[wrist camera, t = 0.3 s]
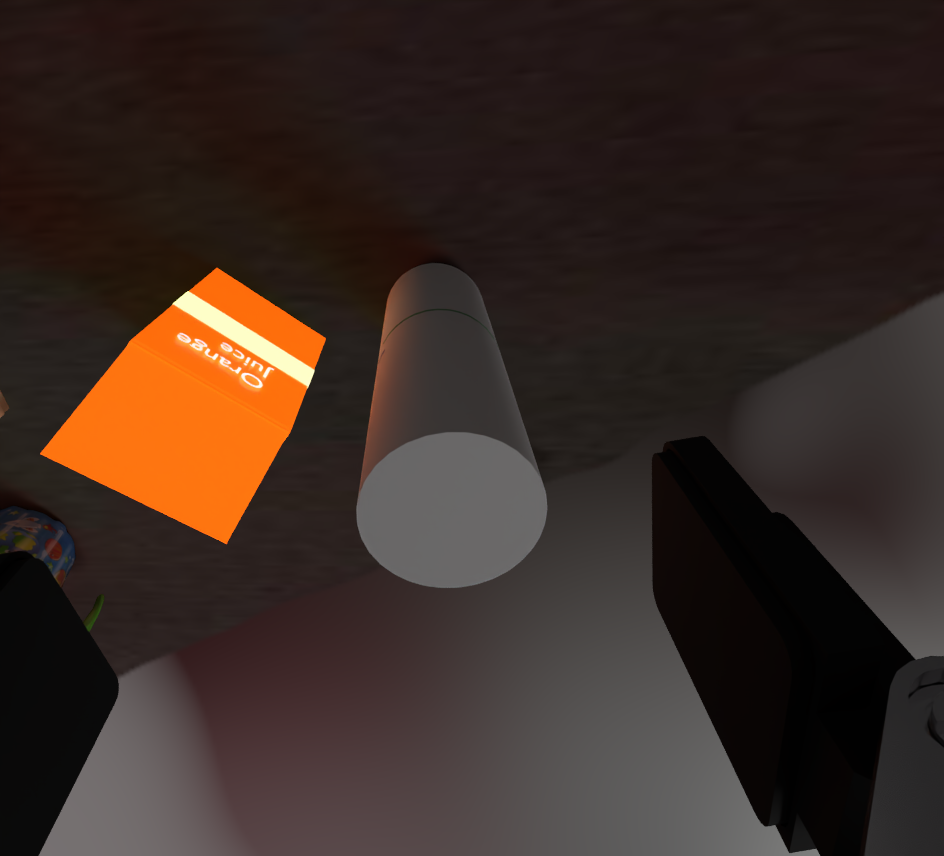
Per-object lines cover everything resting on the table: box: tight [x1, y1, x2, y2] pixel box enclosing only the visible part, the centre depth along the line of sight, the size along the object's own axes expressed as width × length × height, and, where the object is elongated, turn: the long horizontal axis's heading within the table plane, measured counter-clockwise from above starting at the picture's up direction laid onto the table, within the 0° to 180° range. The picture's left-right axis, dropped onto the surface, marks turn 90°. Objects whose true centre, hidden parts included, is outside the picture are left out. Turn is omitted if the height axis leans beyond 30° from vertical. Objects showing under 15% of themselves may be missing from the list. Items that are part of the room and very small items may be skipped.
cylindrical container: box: [356, 263, 547, 588], centre depth 34 cm, size 7×7×25 cm
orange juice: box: [40, 268, 326, 543], centre depth 36 cm, size 8×9×20 cm
